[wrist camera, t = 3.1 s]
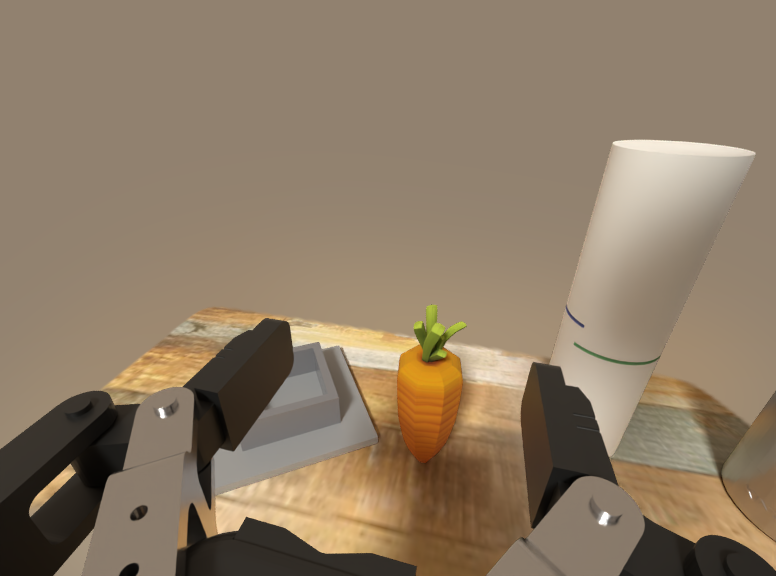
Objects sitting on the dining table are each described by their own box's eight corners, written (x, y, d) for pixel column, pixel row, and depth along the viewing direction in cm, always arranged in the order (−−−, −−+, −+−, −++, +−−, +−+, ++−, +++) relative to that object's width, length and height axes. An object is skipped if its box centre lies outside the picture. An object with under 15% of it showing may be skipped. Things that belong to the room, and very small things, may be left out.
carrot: (408, 428, 34) (415, 289, 27) (459, 450, 32) (481, 305, 25) (383, 470, 30) (383, 322, 23) (439, 499, 28) (458, 345, 21)
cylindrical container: (583, 394, 38) (676, 139, 26) (636, 454, 32) (791, 155, 20) (520, 404, 37) (588, 140, 25) (563, 467, 31) (680, 158, 19)
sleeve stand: (339, 350, 44) (337, 323, 42) (378, 442, 33) (377, 411, 31) (214, 379, 40) (205, 350, 38) (208, 497, 28) (196, 464, 26)
